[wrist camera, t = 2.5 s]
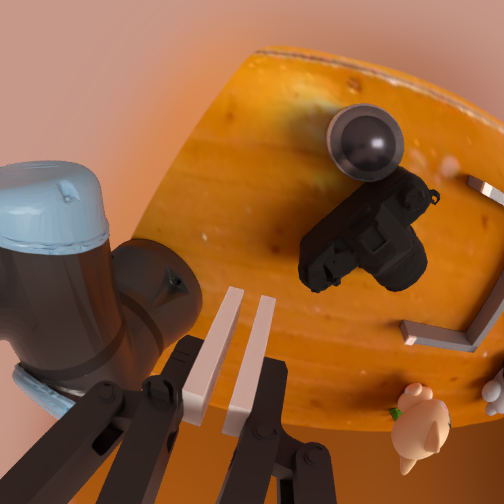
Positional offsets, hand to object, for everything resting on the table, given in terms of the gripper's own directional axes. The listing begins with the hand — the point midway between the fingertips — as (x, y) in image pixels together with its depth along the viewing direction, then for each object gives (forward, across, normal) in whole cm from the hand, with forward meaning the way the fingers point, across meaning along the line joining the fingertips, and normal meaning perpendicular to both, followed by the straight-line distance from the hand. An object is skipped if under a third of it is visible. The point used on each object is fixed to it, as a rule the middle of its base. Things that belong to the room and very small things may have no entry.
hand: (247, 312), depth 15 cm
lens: (+17, +6, +10) cm, 20 cm away
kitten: (+17, +32, -25) cm, 44 cm away
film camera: (+17, +10, +1) cm, 20 cm away
